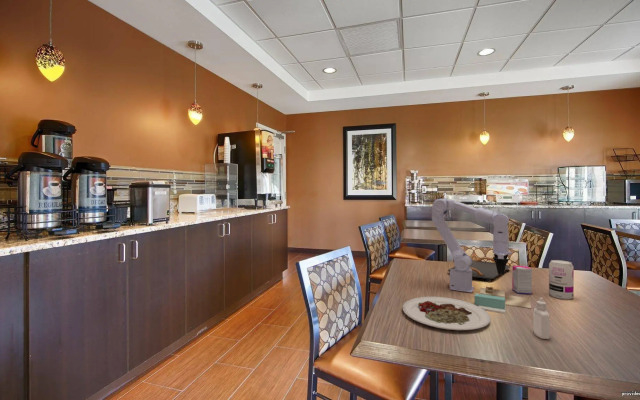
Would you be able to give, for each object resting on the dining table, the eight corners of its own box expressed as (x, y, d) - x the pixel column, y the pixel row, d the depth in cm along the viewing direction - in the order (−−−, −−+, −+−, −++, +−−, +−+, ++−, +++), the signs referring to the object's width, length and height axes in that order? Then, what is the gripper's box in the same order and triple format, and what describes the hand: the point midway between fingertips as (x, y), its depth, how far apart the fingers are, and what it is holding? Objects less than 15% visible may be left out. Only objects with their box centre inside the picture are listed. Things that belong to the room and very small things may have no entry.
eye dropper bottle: (531, 336, 93) (531, 298, 93) (533, 330, 98) (533, 294, 97) (549, 341, 91) (549, 302, 90) (550, 334, 95) (550, 297, 94)
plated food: (491, 343, 91) (491, 332, 90) (393, 323, 105) (393, 313, 105) (490, 308, 117) (490, 300, 117) (412, 296, 131) (411, 289, 131)
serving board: (490, 285, 146) (490, 272, 146) (444, 276, 163) (444, 264, 163) (512, 270, 173) (512, 259, 173) (470, 263, 189) (470, 254, 189)
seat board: (478, 300, 124) (478, 291, 124) (480, 292, 135) (480, 283, 135) (531, 308, 115) (531, 299, 115) (528, 299, 125) (528, 290, 125)
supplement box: (532, 294, 131) (532, 268, 130) (517, 294, 132) (517, 268, 131) (526, 290, 136) (526, 265, 136) (511, 289, 137) (511, 265, 137)
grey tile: (478, 309, 116) (478, 307, 116) (479, 301, 123) (479, 300, 123) (505, 313, 111) (505, 312, 111) (505, 305, 119) (505, 304, 119)
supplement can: (569, 294, 130) (569, 260, 129) (576, 301, 122) (576, 265, 122) (546, 292, 133) (546, 259, 133) (552, 298, 125) (552, 263, 125)
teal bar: (474, 304, 119) (474, 295, 119) (475, 301, 122) (475, 293, 122) (505, 309, 113) (504, 300, 113) (504, 306, 116) (504, 297, 116)
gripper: (512, 244, 122) (512, 277, 122) (511, 239, 134) (511, 269, 134) (492, 243, 125) (492, 275, 126) (493, 238, 138) (493, 267, 138)
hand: (500, 272), depth 130 cm, fingers open, 7 cm apart
